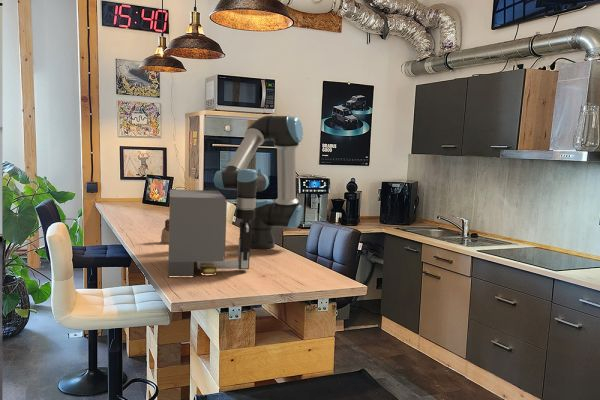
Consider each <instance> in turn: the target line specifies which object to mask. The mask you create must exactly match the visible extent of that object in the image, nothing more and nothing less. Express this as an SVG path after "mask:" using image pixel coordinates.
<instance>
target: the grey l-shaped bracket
mask: <svg viewBox="0 0 600 400" xmlns="http://www.w3.org/2000/svg"><path fill="white" fill-rule="evenodd" d="M240 251H242V238H241V237H240V236H239V237H238V252H237V253H238V254H237V259H236V260H234V259H231V260H229V259H224V261H213V262H196V264H197V266H196V269H198V270H201V266H202V265H208V264H209V265H215V266H217V267H216V270H222V269H223V270H224V269H225V270H226V269H228V270H229V269H231V270H233V269H235V270H237V269H238V270H249V269H250V255H251V254H250V253H251V251H249V256H248V268H241V252H240Z"/></svg>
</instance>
